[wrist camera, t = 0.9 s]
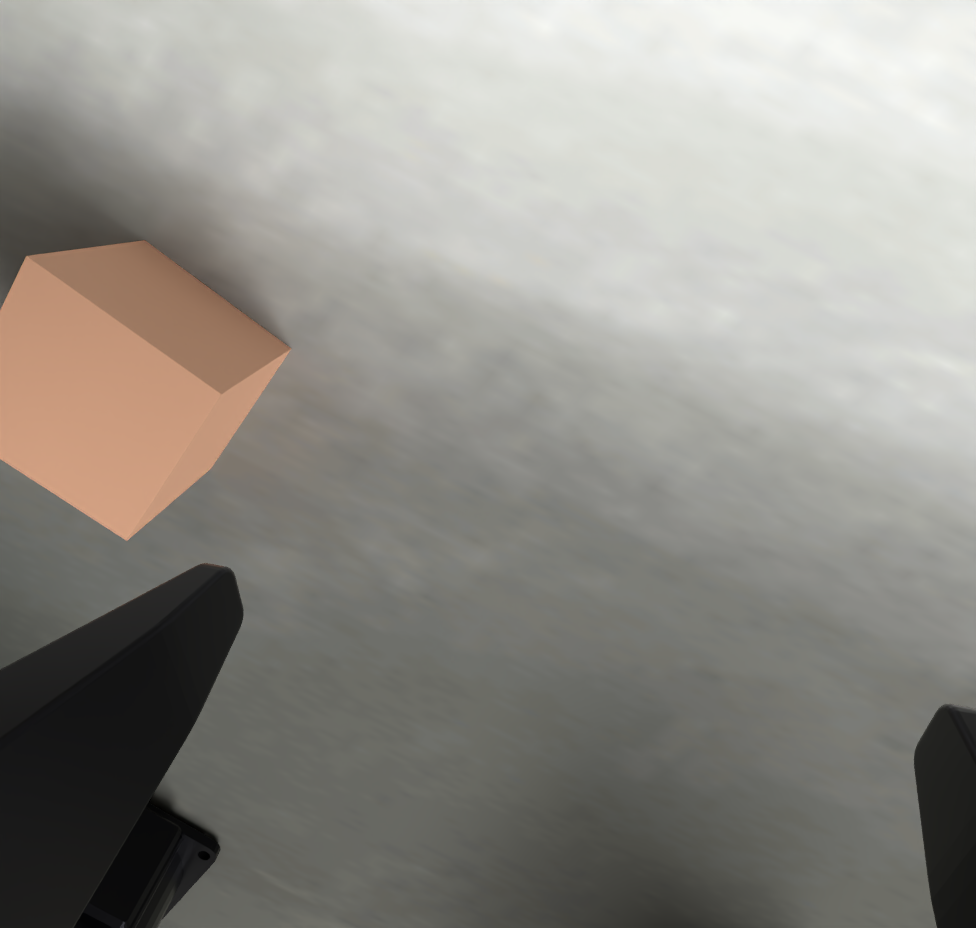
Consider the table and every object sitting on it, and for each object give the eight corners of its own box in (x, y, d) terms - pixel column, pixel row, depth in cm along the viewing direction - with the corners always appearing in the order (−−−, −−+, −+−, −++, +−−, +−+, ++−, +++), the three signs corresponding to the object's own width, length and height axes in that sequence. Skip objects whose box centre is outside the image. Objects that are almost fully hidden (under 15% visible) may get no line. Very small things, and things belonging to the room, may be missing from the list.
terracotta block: (211, 467, 22) (126, 541, 18) (73, 372, 21) (-54, 423, 17) (292, 348, 21) (221, 394, 16) (146, 239, 20) (26, 255, 15)
